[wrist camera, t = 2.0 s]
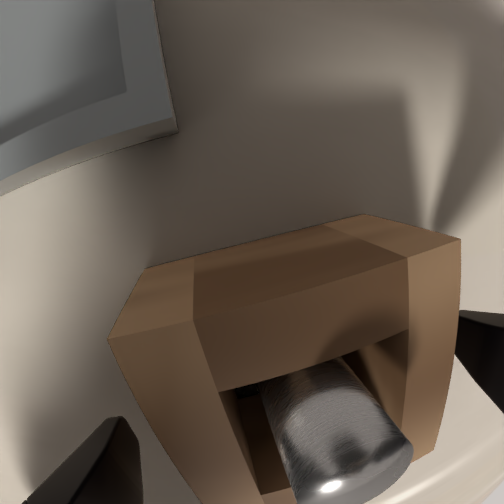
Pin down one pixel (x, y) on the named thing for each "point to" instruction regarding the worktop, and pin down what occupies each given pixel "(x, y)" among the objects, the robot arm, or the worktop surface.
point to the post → (333, 435)
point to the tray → (77, 83)
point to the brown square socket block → (288, 342)
